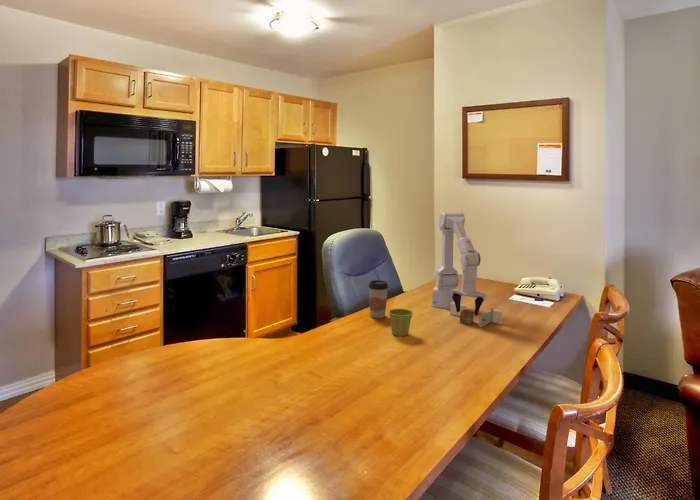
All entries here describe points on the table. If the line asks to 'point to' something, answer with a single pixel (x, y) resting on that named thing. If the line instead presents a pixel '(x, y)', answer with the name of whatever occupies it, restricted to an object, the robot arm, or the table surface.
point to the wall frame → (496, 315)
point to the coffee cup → (378, 298)
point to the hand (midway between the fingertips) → (467, 313)
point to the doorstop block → (466, 316)
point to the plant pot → (400, 321)
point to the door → (485, 318)
